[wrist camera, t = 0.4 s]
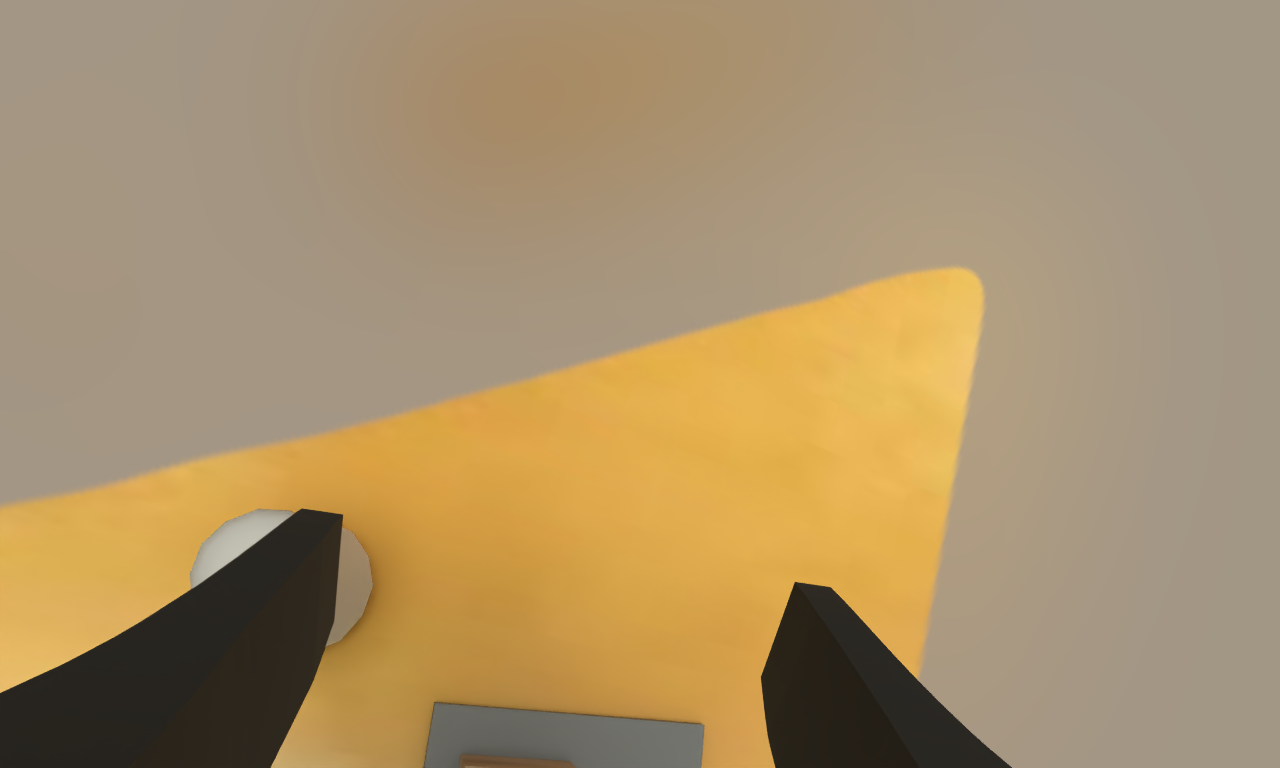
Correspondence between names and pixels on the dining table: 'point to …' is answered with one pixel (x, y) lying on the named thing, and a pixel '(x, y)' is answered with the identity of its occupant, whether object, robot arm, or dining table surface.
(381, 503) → the dining table surface
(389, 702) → the dining table surface
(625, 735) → the slate mat
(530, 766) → the walnut block
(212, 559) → the salt shaker
